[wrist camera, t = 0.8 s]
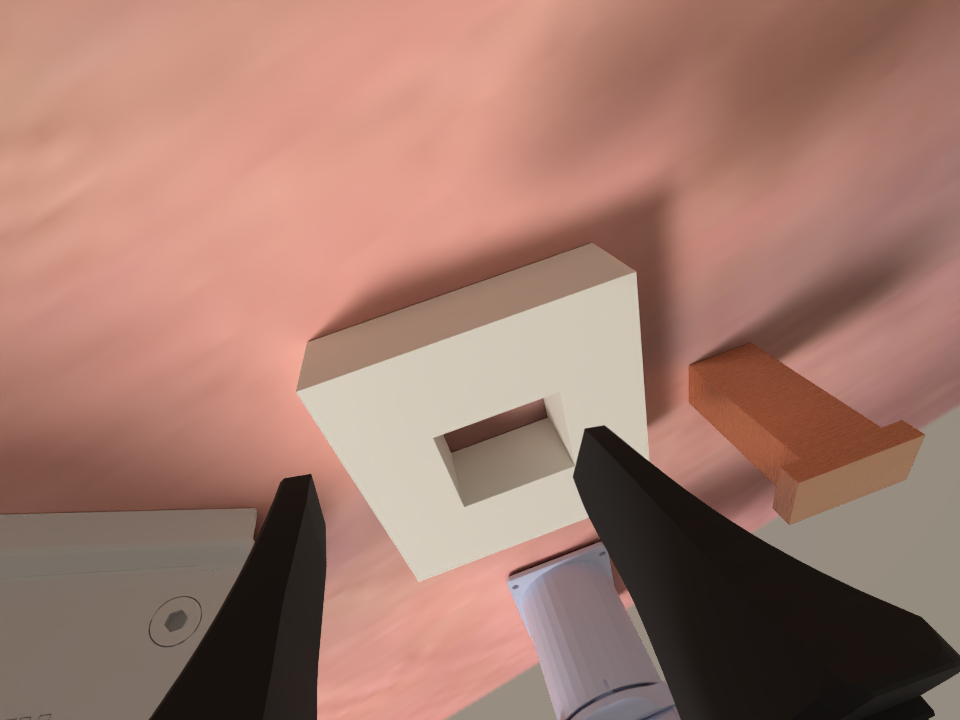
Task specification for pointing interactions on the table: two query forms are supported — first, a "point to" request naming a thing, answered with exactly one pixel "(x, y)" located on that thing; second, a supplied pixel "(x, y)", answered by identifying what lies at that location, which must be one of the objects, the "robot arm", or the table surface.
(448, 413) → the well block
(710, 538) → the robot arm
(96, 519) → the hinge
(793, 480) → the t-shaped block
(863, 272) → the table surface
